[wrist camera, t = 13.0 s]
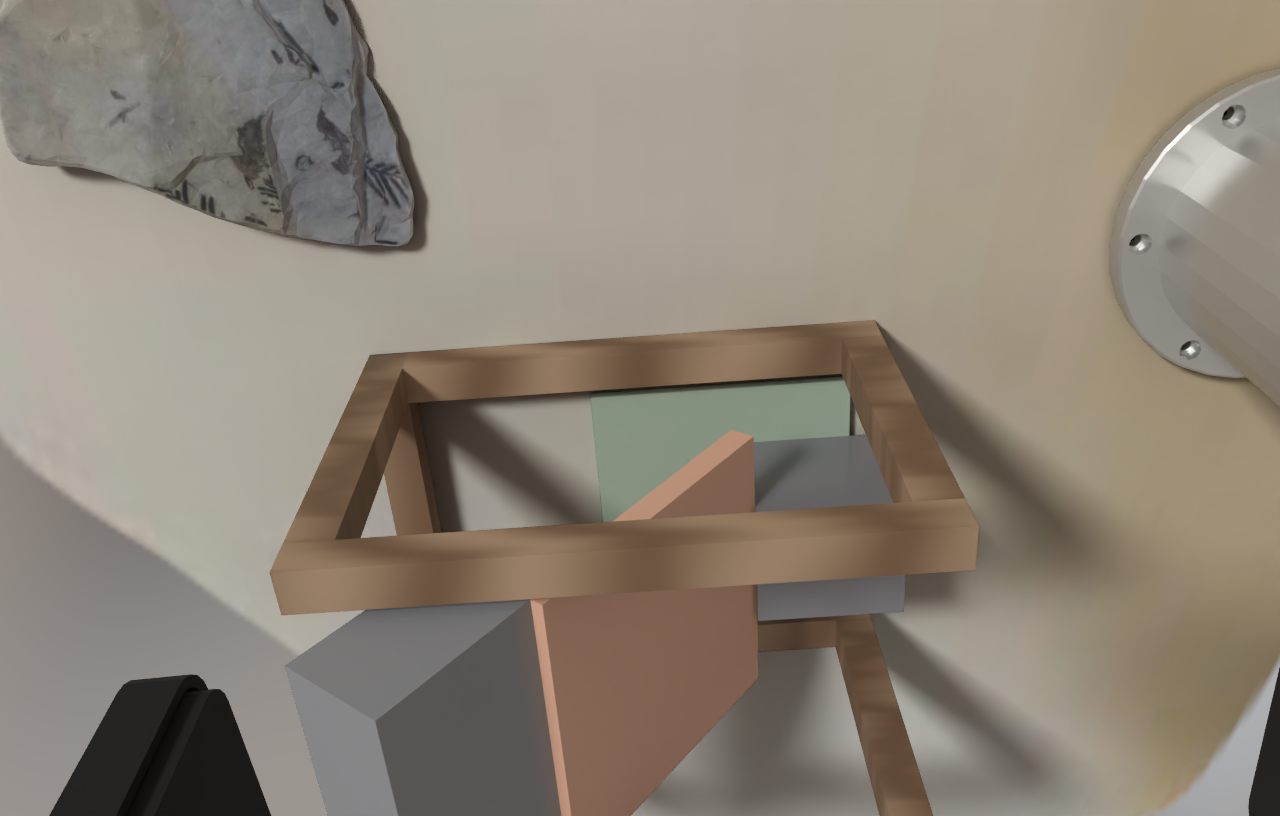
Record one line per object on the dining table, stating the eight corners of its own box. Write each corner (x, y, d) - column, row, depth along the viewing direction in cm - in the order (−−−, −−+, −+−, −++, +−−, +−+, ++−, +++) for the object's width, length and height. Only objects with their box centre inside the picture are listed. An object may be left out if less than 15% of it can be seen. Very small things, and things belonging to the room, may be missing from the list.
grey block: (742, 442, 48) (880, 433, 48) (745, 545, 50) (876, 536, 50) (756, 512, 43) (910, 501, 43) (758, 621, 46) (903, 611, 45)
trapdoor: (362, 935, 38) (453, 1007, 35) (284, 665, 32) (387, 728, 29) (674, 639, 50) (758, 677, 47) (658, 407, 44) (753, 436, 42)
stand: (430, 652, 53) (368, 926, 40) (370, 355, 46) (269, 572, 33) (863, 624, 53) (944, 891, 40) (874, 320, 46) (979, 526, 32)
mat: (848, 375, 47) (850, 380, 46) (843, 583, 52) (845, 589, 52) (590, 393, 47) (590, 397, 47) (611, 598, 52) (611, 604, 52)
